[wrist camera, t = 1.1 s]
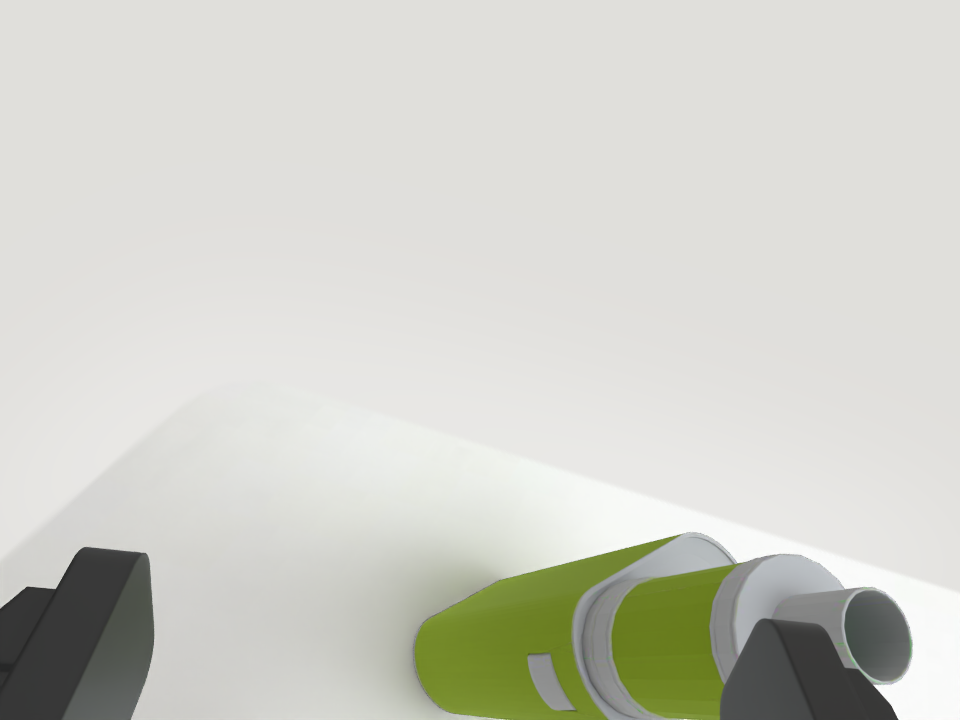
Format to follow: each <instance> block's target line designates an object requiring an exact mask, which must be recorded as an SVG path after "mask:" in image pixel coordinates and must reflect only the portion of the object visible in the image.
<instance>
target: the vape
mask: <svg viewBox="0 0 960 720" xmlns="http://www.w3.org/2000/svg"><path fill="white" fill-rule="evenodd" d="M763 618H767V619H777V620H787V621H797V622H807V623H816V624H819V625H821V626H822V627H823V628H824V629H825V630H826V631H827V633H828V634H829V636H830V638H831V640H832V642H833V644H834V646H835V648H836V650H837V653H838V655H839V657H840V659H841V661H842V663H843V665H844V667H845V668H854V669H859V670H860V671H861V672H862V673H863V675H864V676H865V677H866V678H867V679H868V680H869V681H870V682H871V683H872V685H885V684H893V683H895V682H897V681H899V680H901V679H902V678H903V676H904V675H905V674H906V672H907V671H908V669H909V666H910V662H911V659H912V645H913V642H912V637H911V632H910V627H909V625H908V622H907V620H906V618H905V615H904V613H903V612H902V610H901V609H900V607H899V606H898V605H897V603H896V602H895V601H894V600H893V599H892V598H891V597H890V596H889V595H887V594H886V593H885V592H883V591H881V590H879V589H876V588H873V587H861V588H852V589H844V587H843V586H842V584H841V583H840V581H839V580H838V579H837V578H836V577H835V576H833V575H832V574H831V573H830V572H829V571H828V570H827V569H825V568H824V567H823V566H822V565H821V564H819V563H817V562H815V561H812V560H810V559H808V558H806V557H803V556H801V555H792V554H778V555H770V556H765V557H761V558H755V559H753V560H750V561H748V562H743V563H737V562H736V561H735V559H734V558H733V557H732V556H731V554H730V553H729V552H728V551H727V550H726V549H725V548H724V547H723V546H722V545H721V544H719V543H718V542H717V541H715V540H714V539H712V538H710V537H709V536H707V535H704V534H701V533H696V532H689V533H684V534H680V535H677V536H673V537H669V538H665V539H661V540H657V541H653V542H649V543H645V544H641V545H637V546H633V547H629V548H625V549H621V550H617V551H613V552H609V553H606V554H602V555H598V556H594V557H590V558H586V559H582V560H578V561H574V562H570V563H566V564H562V565H558V566H554V567H550V568H546V569H542V570H538V571H535V572H531V573H527V574H523V575H519V576H515V577H511V578H507V579H503V580H499V581H497V582H495V583H493V584H492V585H490V586H488V587H486V588H484V589H482V590H481V591H479V592H477V593H475V594H473V595H471V596H469V597H468V598H466V599H464V600H462V601H460V602H458V603H457V604H455V605H453V606H451V607H449V608H447V609H445V610H444V611H442V612H440V613H438V614H436V615H434V616H433V617H431V618H429V619H427V620H426V621H425V622H424V623H423V624H422V625H421V626H420V628H419V630H418V632H417V634H416V637H415V641H414V650H413V655H414V664H415V669H416V673H417V676H418V679H419V681H420V683H421V685H422V687H423V689H424V691H425V692H426V694H427V695H428V696H429V698H430V699H431V700H432V701H433V702H434V703H435V704H436V705H437V706H439V707H440V708H442V709H443V710H445V711H447V712H450V713H453V714H462V715H471V716H479V717H488V718H497V719H505V720H684V719H690V720H720V701H721V695H722V691H723V688H724V686H725V684H726V682H727V680H728V678H729V676H730V674H731V672H732V670H733V668H734V666H735V664H736V662H737V660H738V658H739V656H740V654H741V652H742V650H743V648H744V646H745V644H746V642H747V640H748V638H749V636H750V634H751V632H752V630H753V628H754V626H755V624H756V623H757V622H758V621H759V620H760V619H763Z"/></svg>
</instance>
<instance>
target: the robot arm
mask: <svg viewBox="0 0 960 720" xmlns="http://www.w3.org/2000/svg"><path fill="white" fill-rule="evenodd" d="M153 645H154V620H153V605H152V591H151V576H150V563H149V558H148V555H147V554H146V553H140V552H130V551H120V550H110V549H100V548H90V547H84V548H82V549H80V550H79V551H78V552H77V554H76V555H75V556H74V558H73V560H72V561H71V563H70V565H69V567H68V568H67V570H66V572H65V574H64V576H63V577H62V579H61V581H60V583H59V584H58V586H57V588H56V589H47V588H37V587H26V588H25V589H24V590H22V591H21V592H20V593H19V594H18V595H16V596H15V597H14V598H13V599H12V600H10V601H9V602H8V603H7V604H5V605H4V606H3V607H2V608H1V609H0V720H131V717H132V715H133V712H134V710H135V707H136V704H137V702H138V699H139V697H140V694H141V692H142V689H143V686H144V684H145V681H146V678H147V674H148V671H149V667H150V663H151V658H152V652H153ZM720 720H898V718H897V716H896V714H895V712H894V710H893V708H892V706H891V705H890V704H889V702H888V701H887V700H886V699H885V698H884V697H883V696H882V695H881V694H880V692H879V691H878V690H877V689H876V688H875V687H874V686H873V685H872V683H871V682H870V681H869V680H868V679H867V678H866V677H865V676H864V675H863V673H862V672H861V671H860V670H859V669H854V668H845V667H844V665H843V663H842V661H841V659H840V657H839V655H838V653H837V650H836V648H835V646H834V644H833V642H832V640H831V638H830V636H829V634H828V633H827V631H826V630H825V629H824V628H823V627H822V626H821V625H819V624H816V623H807V622H797V621H787V620H777V619H767V618H763V619H760V620H759V621H758V622H757V623H756V624H755V626H754V628H753V630H752V632H751V634H750V636H749V638H748V640H747V642H746V644H745V646H744V648H743V650H742V652H741V654H740V656H739V658H738V660H737V662H736V664H735V666H734V668H733V670H732V672H731V674H730V676H729V678H728V680H727V682H726V684H725V686H724V688H723V691H722V695H721V701H720Z"/></svg>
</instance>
